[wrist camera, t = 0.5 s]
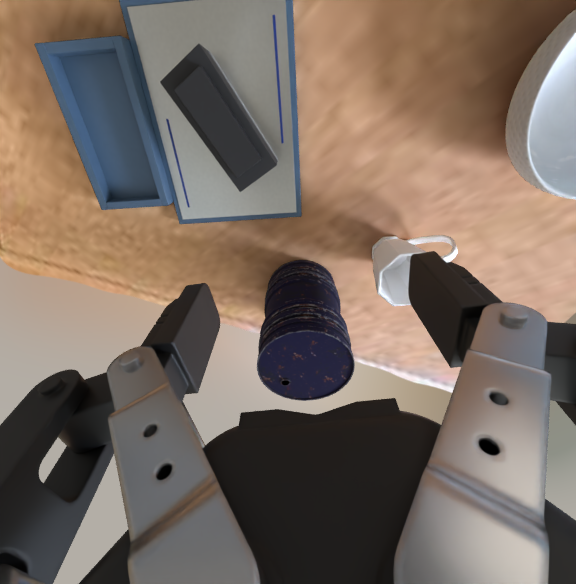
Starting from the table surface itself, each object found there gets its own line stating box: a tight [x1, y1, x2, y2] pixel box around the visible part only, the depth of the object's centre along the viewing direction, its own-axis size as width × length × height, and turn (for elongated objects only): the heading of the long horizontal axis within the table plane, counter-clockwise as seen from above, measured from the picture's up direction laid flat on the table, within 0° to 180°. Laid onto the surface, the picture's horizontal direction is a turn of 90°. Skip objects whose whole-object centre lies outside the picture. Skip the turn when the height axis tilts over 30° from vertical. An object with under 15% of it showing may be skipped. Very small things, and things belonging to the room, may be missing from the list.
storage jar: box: [257, 260, 354, 401], centre depth 35 cm, size 10×10×15 cm
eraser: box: [160, 44, 278, 192], centre depth 27 cm, size 11×5×5 cm, turn 34°
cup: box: [372, 235, 458, 306], centre depth 34 cm, size 7×10×8 cm
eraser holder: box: [35, 36, 174, 210], centre depth 30 cm, size 15×8×3 cm, turn 4°
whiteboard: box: [119, 0, 302, 224], centre depth 30 cm, size 20×15×1 cm
